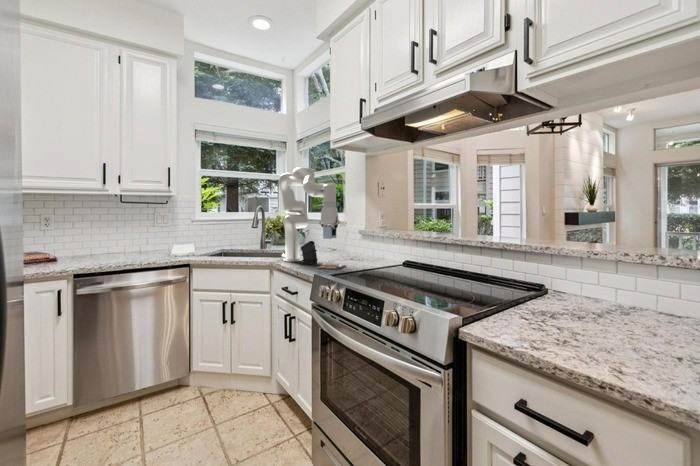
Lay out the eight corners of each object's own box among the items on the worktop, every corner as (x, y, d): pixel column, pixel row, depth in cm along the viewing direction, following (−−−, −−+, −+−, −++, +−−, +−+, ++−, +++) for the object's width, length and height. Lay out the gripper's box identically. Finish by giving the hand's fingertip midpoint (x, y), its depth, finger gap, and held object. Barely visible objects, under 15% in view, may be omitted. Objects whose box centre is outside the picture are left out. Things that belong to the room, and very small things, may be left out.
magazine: (316, 262, 207) (309, 240, 210) (304, 269, 215) (298, 248, 219) (320, 262, 209) (314, 240, 213) (309, 268, 218) (302, 247, 222)
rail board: (317, 268, 196) (317, 264, 196) (329, 265, 209) (329, 261, 209) (334, 270, 191) (334, 265, 191) (346, 266, 203) (346, 262, 203)
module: (323, 238, 197) (323, 225, 196) (329, 237, 203) (329, 224, 202) (330, 238, 194) (330, 225, 194) (336, 238, 200) (336, 224, 200)
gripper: (314, 205, 198) (314, 235, 199) (338, 204, 190) (338, 236, 191) (321, 205, 205) (321, 234, 206) (345, 205, 196) (345, 235, 198)
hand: (329, 235), depth 198 cm, fingers closed on module, 5 cm apart
